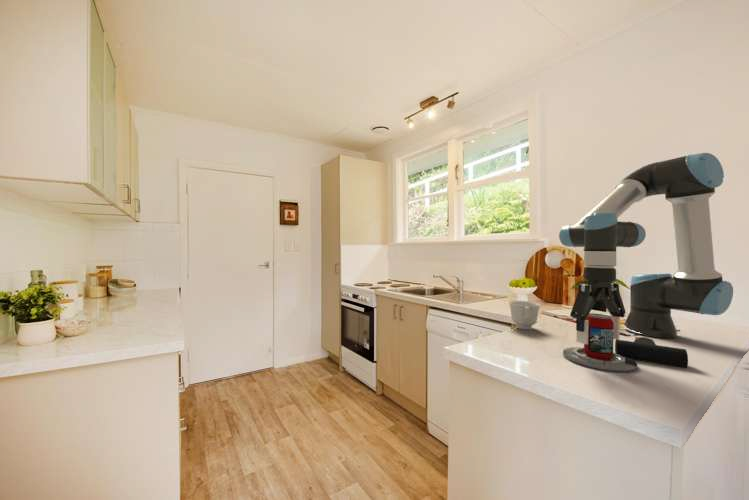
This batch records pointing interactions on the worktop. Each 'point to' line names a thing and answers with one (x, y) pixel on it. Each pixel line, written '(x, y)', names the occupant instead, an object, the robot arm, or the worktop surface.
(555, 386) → the worktop surface
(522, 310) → the teacup
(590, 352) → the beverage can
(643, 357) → the pipe connector
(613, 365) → the ring plate
